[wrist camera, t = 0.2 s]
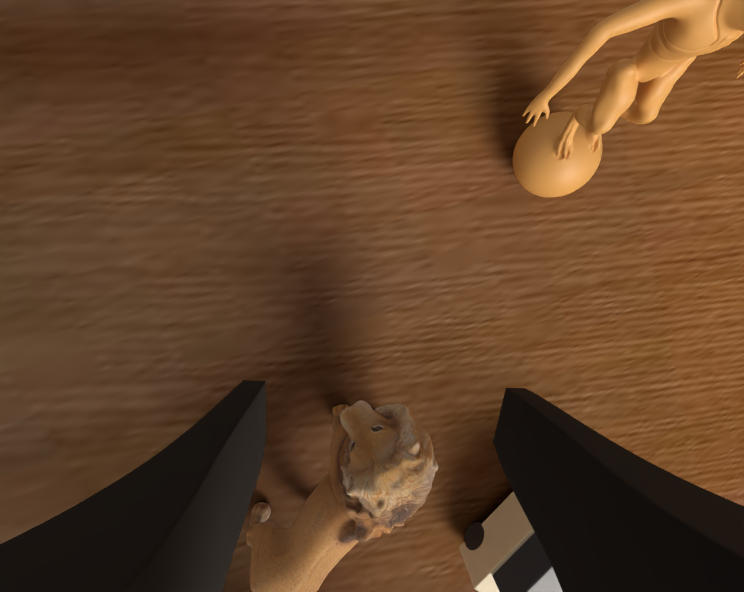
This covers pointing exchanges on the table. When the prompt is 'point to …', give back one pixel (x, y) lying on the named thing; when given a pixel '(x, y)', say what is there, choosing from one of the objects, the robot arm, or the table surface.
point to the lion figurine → (346, 498)
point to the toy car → (507, 553)
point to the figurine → (619, 87)
